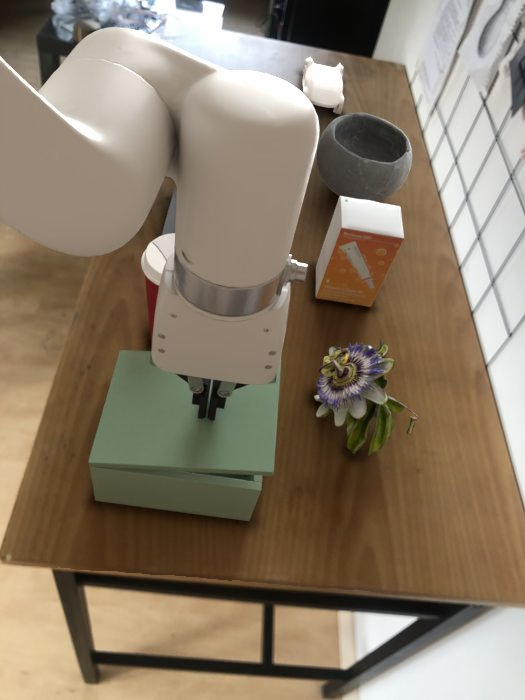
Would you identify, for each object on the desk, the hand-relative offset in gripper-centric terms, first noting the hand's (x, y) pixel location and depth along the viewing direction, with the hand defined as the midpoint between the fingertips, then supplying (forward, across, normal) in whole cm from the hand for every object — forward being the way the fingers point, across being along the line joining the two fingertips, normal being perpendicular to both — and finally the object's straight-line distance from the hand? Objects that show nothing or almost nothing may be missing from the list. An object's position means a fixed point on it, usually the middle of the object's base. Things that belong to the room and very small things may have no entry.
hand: (208, 405), depth 54 cm
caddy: (+11, +2, 0) cm, 11 cm away
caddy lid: (+1, +1, 0) cm, 2 cm away
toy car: (+11, -12, -80) cm, 82 cm away
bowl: (+11, -18, -52) cm, 56 cm away
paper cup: (+11, +6, -16) cm, 20 cm away
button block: (+11, +4, -36) cm, 38 cm away
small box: (+11, -16, -29) cm, 35 cm away
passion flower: (+11, -17, -9) cm, 22 cm away
